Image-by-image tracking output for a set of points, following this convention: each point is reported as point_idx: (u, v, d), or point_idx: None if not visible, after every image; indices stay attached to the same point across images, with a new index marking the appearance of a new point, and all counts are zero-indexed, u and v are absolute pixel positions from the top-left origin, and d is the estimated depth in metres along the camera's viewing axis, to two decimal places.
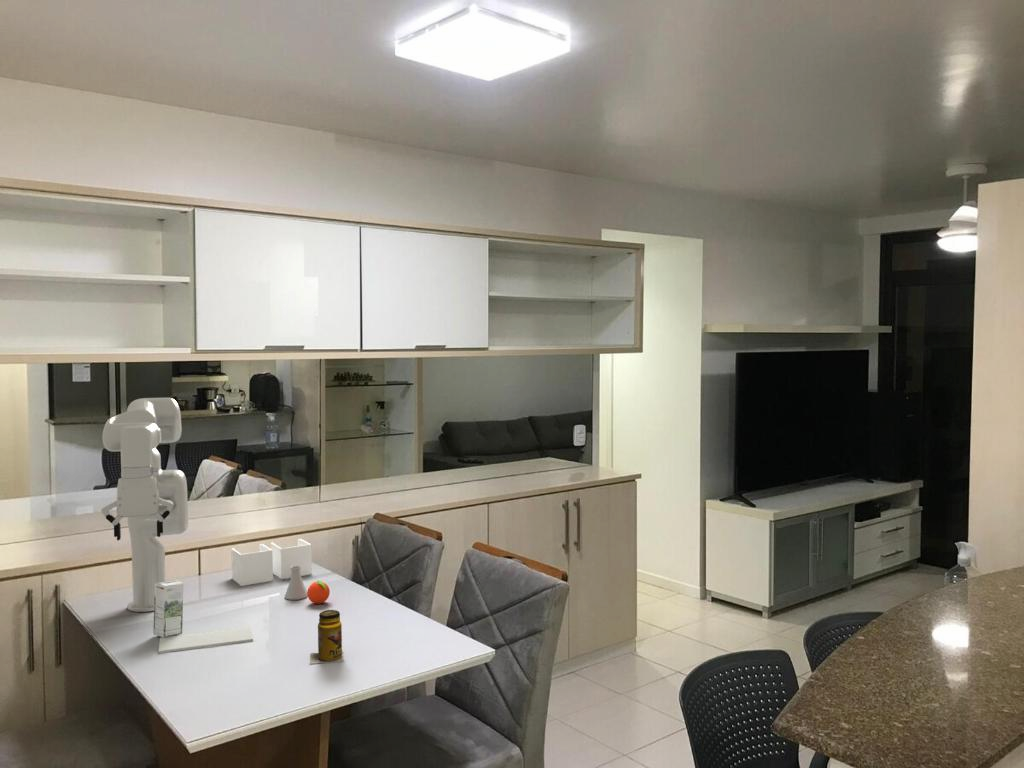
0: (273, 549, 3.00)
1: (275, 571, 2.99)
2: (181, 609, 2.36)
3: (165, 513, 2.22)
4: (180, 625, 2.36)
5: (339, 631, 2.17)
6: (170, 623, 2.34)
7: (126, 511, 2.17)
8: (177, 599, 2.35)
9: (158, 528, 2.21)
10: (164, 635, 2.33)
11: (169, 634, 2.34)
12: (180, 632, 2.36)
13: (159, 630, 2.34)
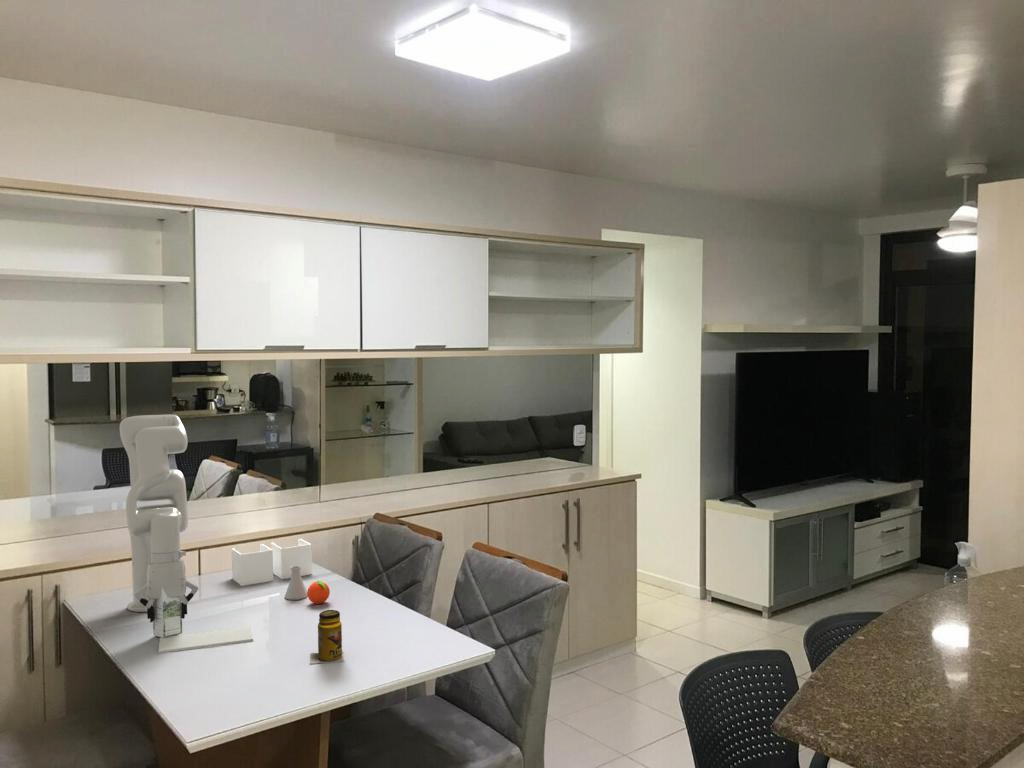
0: (273, 549, 3.00)
1: (275, 571, 2.99)
2: (180, 609, 2.36)
3: (189, 596, 2.37)
4: (180, 625, 2.36)
5: (339, 631, 2.17)
6: (169, 623, 2.34)
7: (156, 593, 2.33)
8: (175, 598, 2.35)
9: (183, 610, 2.36)
10: (164, 635, 2.32)
11: (169, 634, 2.34)
12: (180, 632, 2.36)
13: (159, 630, 2.34)
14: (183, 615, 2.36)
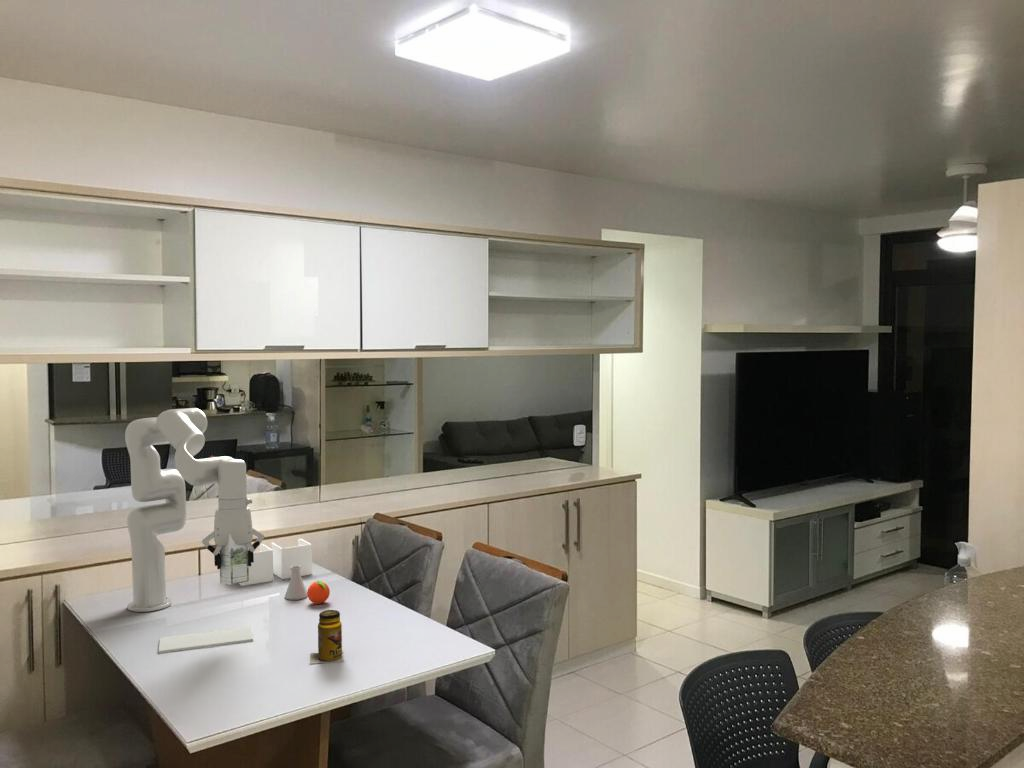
0: (273, 549, 3.00)
1: (275, 571, 2.99)
2: (247, 556, 2.35)
3: (256, 544, 2.35)
4: (246, 572, 2.34)
5: (339, 631, 2.17)
6: (237, 570, 2.32)
7: (223, 540, 2.31)
8: (242, 546, 2.34)
9: (249, 558, 2.34)
10: (231, 582, 2.31)
11: (236, 581, 2.32)
12: (247, 579, 2.34)
13: (226, 578, 2.32)
14: (250, 563, 2.34)
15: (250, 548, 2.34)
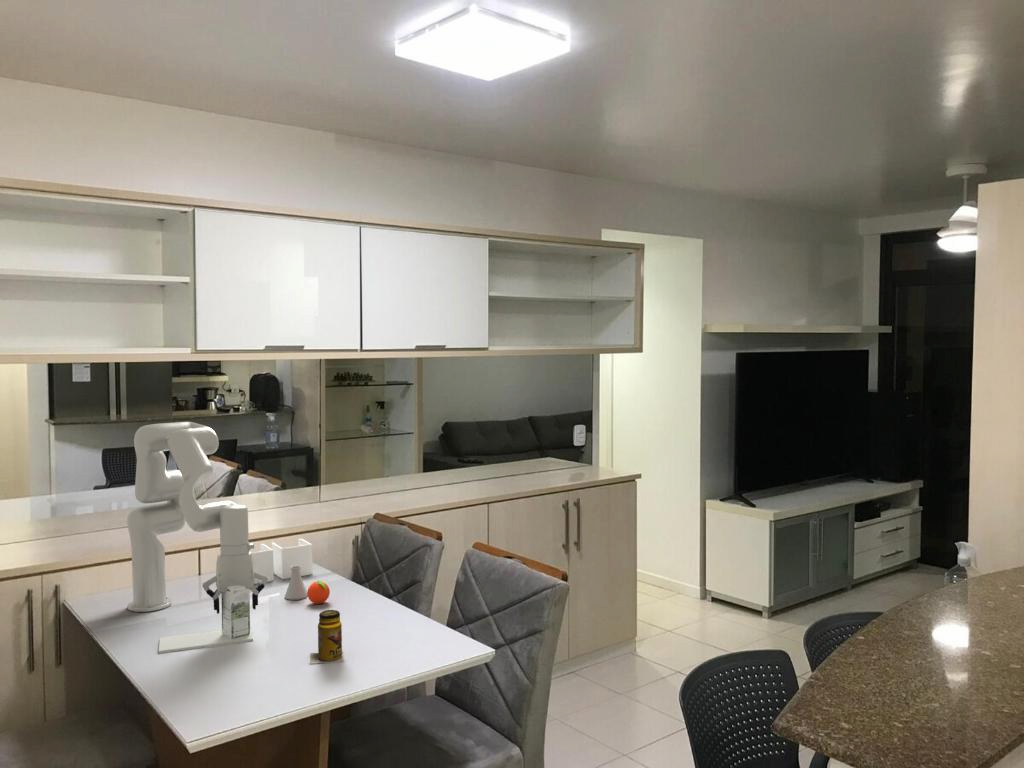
0: (274, 549, 3.00)
1: (276, 571, 2.99)
2: (248, 610, 2.34)
3: (260, 587, 2.36)
4: (248, 625, 2.35)
5: (339, 631, 2.17)
6: (238, 624, 2.32)
7: (225, 586, 2.31)
8: (243, 600, 2.33)
9: (254, 601, 2.35)
10: (232, 636, 2.31)
11: (237, 635, 2.32)
12: (248, 632, 2.35)
13: (227, 631, 2.33)
14: (254, 606, 2.35)
15: (254, 591, 2.35)
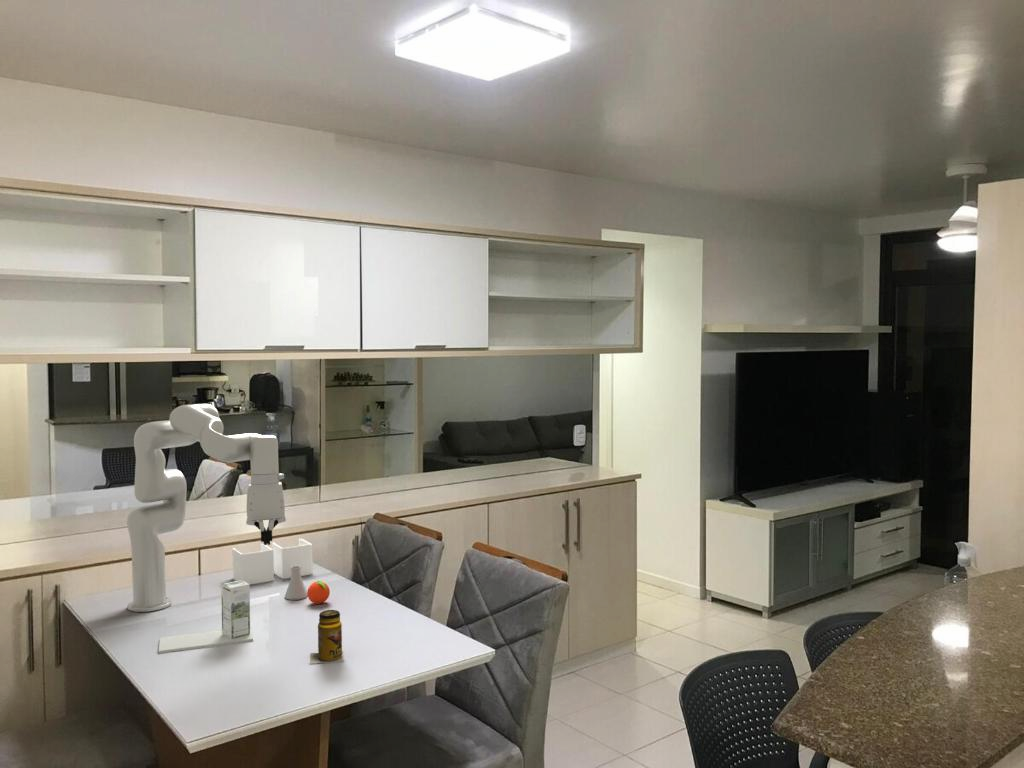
0: (274, 549, 3.00)
1: (276, 571, 2.99)
2: (248, 610, 2.34)
3: (274, 522, 2.37)
4: (248, 625, 2.35)
5: (339, 631, 2.17)
6: (238, 624, 2.32)
7: (256, 515, 2.34)
8: (243, 600, 2.33)
9: (268, 536, 2.36)
10: (232, 636, 2.31)
11: (237, 635, 2.32)
12: (248, 632, 2.35)
13: (227, 631, 2.33)
14: (269, 541, 2.36)
15: (269, 527, 2.36)
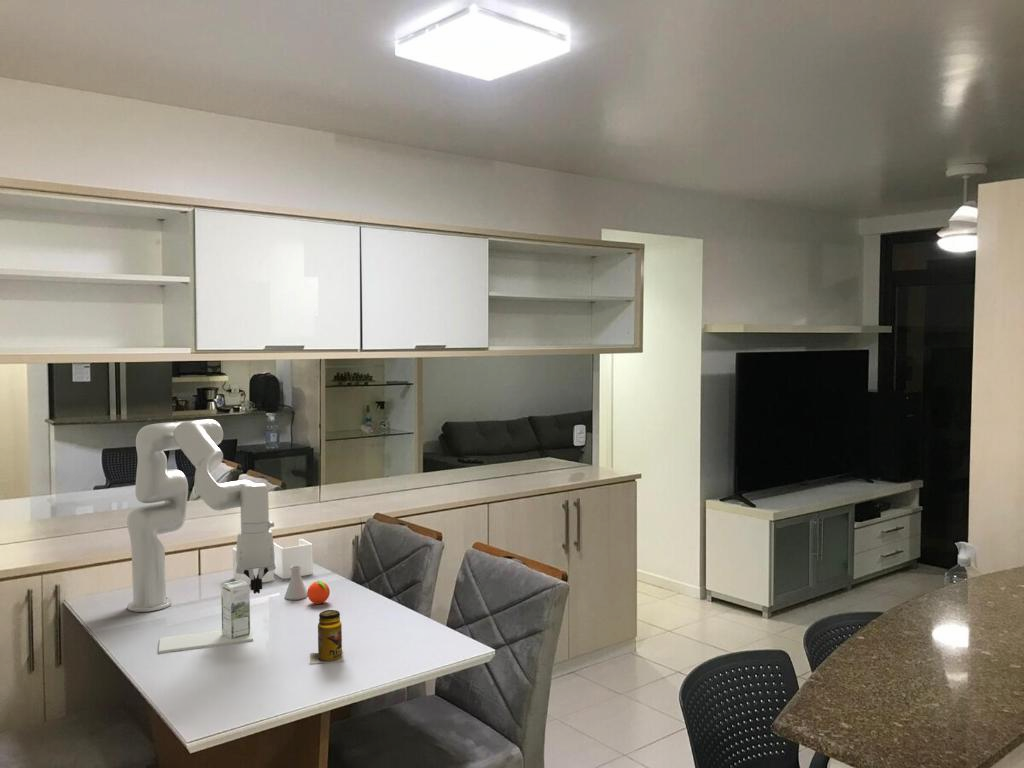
0: (274, 549, 3.00)
1: (276, 571, 2.99)
2: (248, 610, 2.34)
3: (264, 570, 2.36)
4: (248, 625, 2.35)
5: (339, 631, 2.17)
6: (238, 624, 2.32)
7: (246, 564, 2.33)
8: (243, 600, 2.33)
9: (258, 585, 2.35)
10: (232, 636, 2.31)
11: (237, 635, 2.32)
12: (248, 632, 2.35)
13: (227, 631, 2.33)
14: (258, 590, 2.35)
15: (259, 575, 2.35)
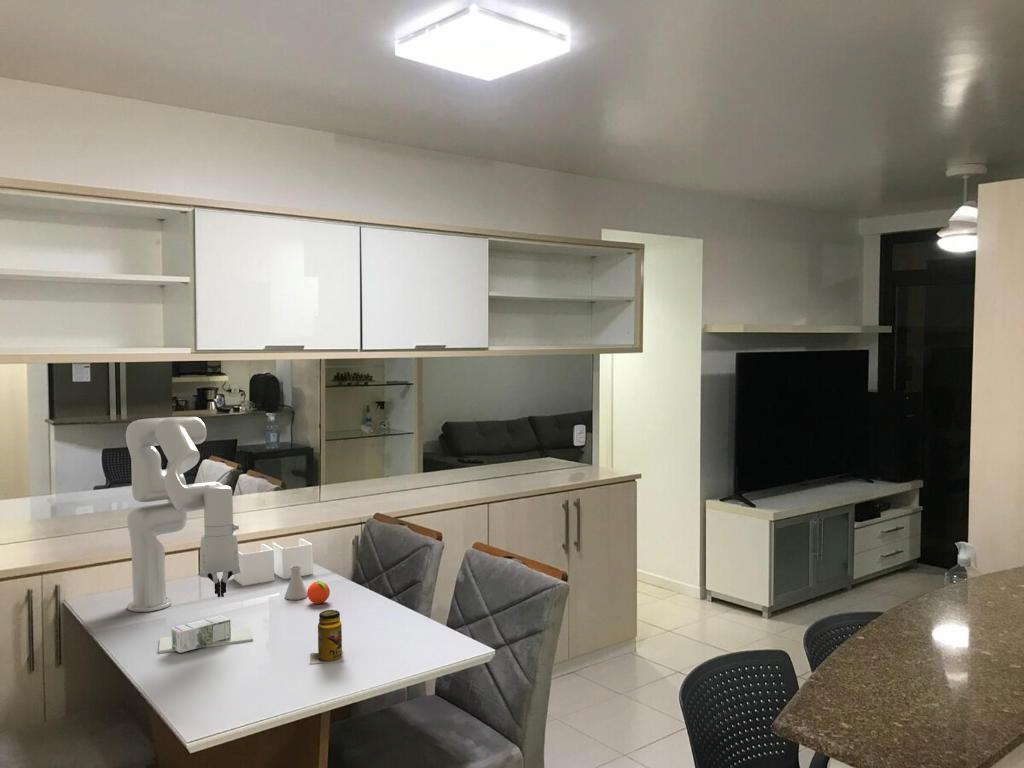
0: (274, 549, 3.00)
1: (276, 571, 2.99)
2: (206, 627, 2.26)
3: (228, 574, 2.33)
4: (222, 623, 2.29)
5: (339, 631, 2.17)
6: (218, 635, 2.28)
7: (209, 567, 2.30)
8: (195, 634, 2.24)
9: (222, 589, 2.32)
10: (229, 638, 2.31)
11: (229, 633, 2.31)
12: (228, 621, 2.31)
13: None
14: (222, 593, 2.32)
15: (222, 579, 2.32)
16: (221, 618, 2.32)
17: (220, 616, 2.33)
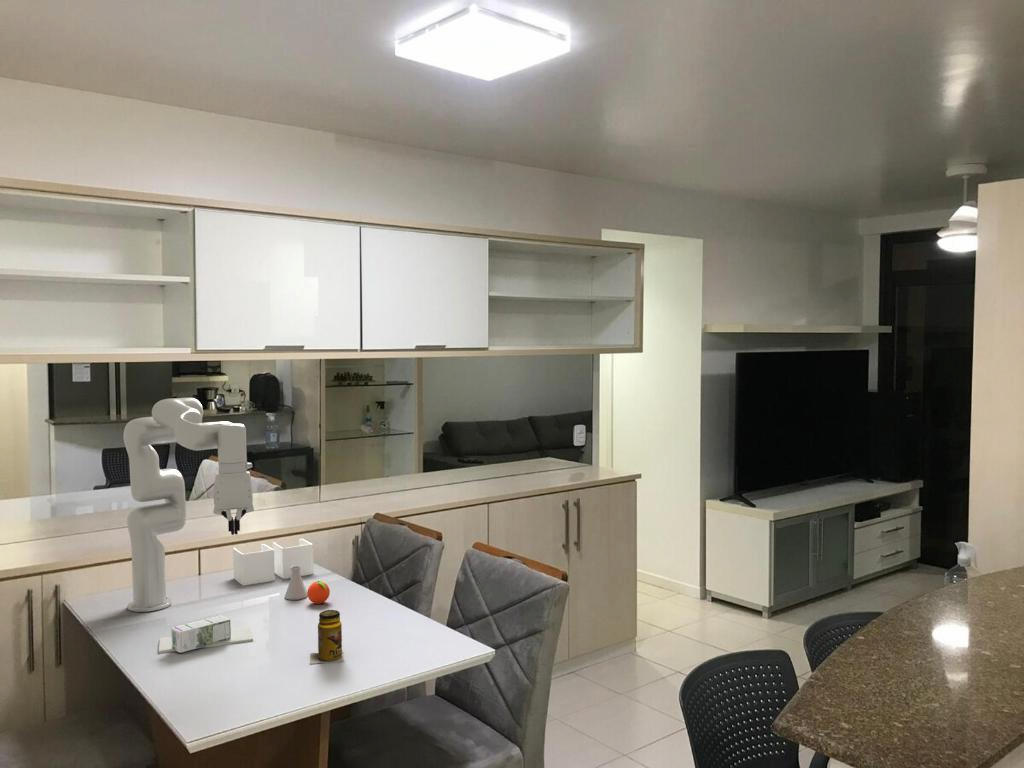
0: (275, 549, 3.00)
1: (277, 571, 2.99)
2: (206, 627, 2.26)
3: (242, 512, 2.34)
4: (222, 623, 2.29)
5: (339, 631, 2.17)
6: (218, 635, 2.28)
7: (223, 504, 2.30)
8: (195, 634, 2.24)
9: (236, 526, 2.32)
10: (229, 638, 2.31)
11: (229, 633, 2.31)
12: (228, 621, 2.31)
13: None
14: (236, 531, 2.33)
15: (236, 516, 2.33)
16: (221, 618, 2.32)
17: (220, 616, 2.33)
